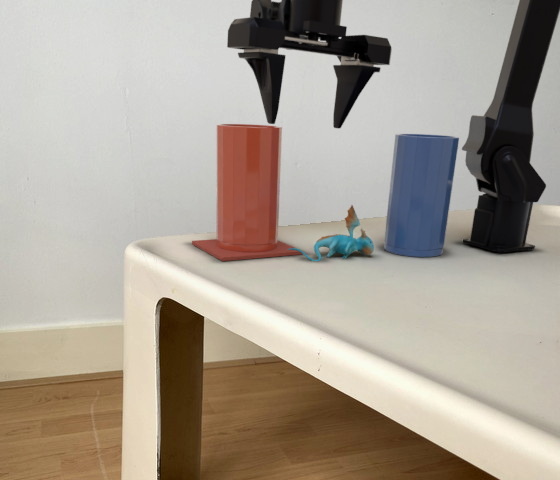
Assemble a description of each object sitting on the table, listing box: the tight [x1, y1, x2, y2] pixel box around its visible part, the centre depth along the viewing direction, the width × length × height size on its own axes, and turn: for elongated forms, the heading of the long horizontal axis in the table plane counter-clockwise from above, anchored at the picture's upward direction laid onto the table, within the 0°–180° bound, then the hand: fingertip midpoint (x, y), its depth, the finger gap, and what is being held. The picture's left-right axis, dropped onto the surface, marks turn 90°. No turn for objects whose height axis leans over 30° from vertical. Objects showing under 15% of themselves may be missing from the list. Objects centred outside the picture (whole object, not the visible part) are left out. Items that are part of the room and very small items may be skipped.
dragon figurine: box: [288, 204, 375, 262], centre depth 71 cm, size 6×7×8 cm
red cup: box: [215, 123, 283, 252], centre depth 71 cm, size 7×7×13 cm
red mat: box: [191, 238, 303, 262], centre depth 73 cm, size 10×9×1 cm
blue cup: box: [383, 133, 460, 258], centre depth 73 cm, size 7×7×13 cm
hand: (305, 126), depth 74 cm, fingers open, 9 cm apart
